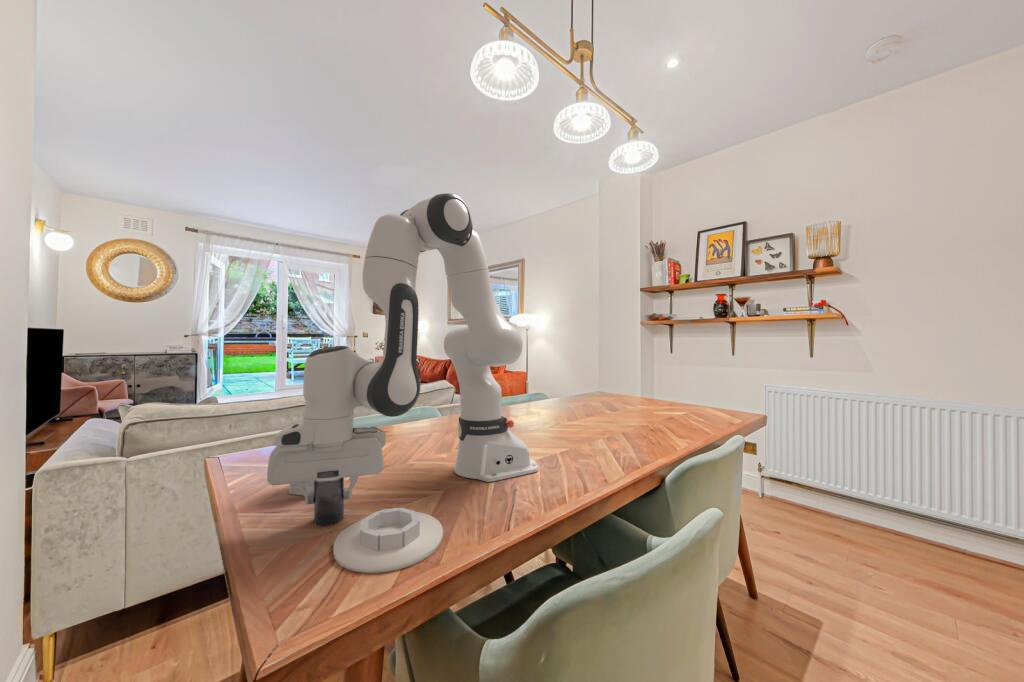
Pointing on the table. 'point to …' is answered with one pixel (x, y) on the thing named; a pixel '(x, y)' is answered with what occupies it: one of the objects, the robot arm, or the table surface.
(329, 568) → the table surface
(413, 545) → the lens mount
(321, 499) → the lens
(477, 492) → the table surface
